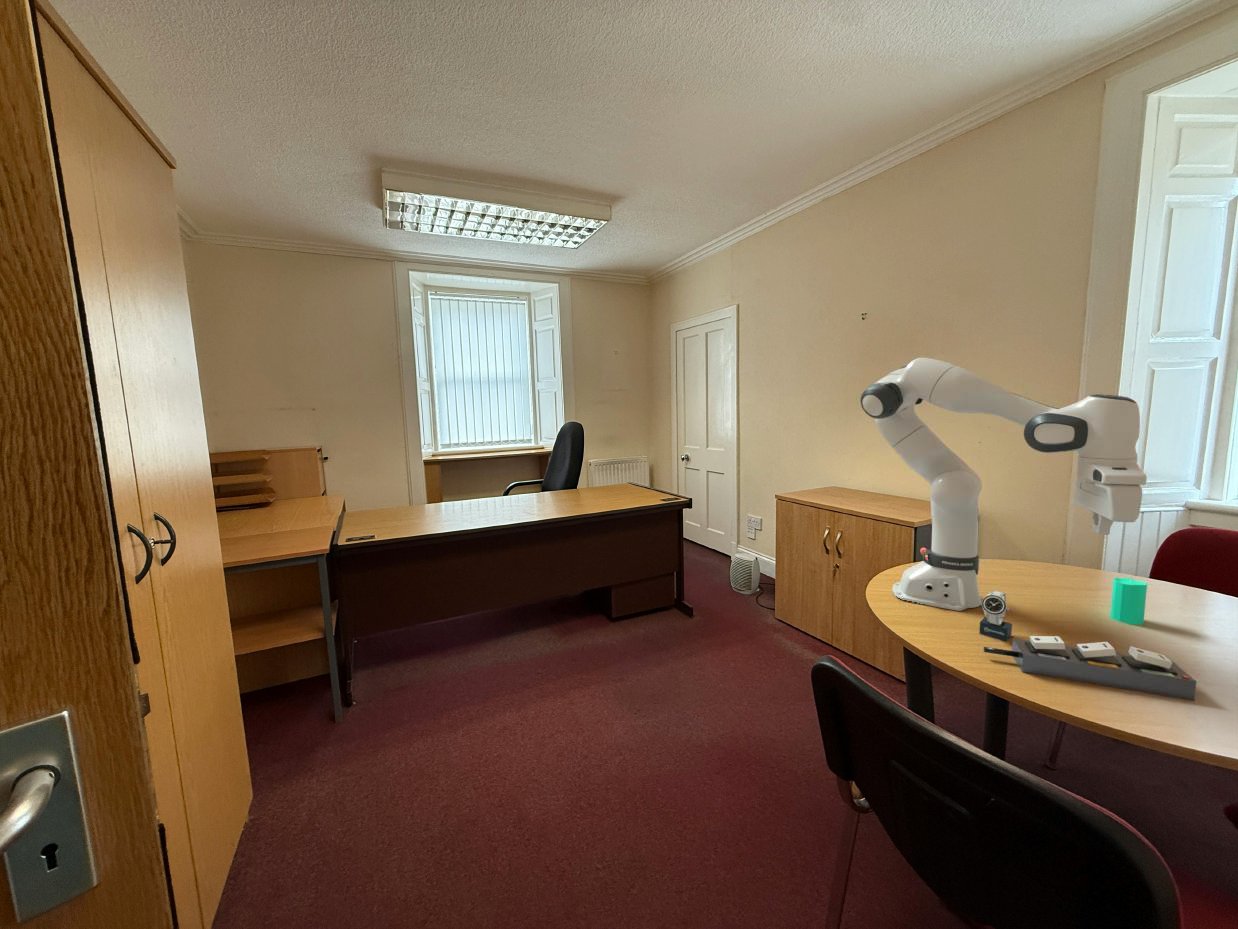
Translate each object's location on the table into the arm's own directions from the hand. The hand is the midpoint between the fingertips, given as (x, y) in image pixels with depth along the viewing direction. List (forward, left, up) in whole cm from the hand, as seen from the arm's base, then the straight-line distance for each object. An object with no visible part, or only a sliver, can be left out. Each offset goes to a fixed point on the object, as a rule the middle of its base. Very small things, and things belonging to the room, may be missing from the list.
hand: (1100, 533), depth 104 cm
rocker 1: (-10, -8, -24) cm, 27 cm away
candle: (+16, +28, -29) cm, 44 cm away
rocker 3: (+6, -8, -24) cm, 26 cm away
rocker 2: (-2, -8, -24) cm, 25 cm away
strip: (-5, -8, -29) cm, 31 cm away
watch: (-16, +6, -29) cm, 34 cm away
